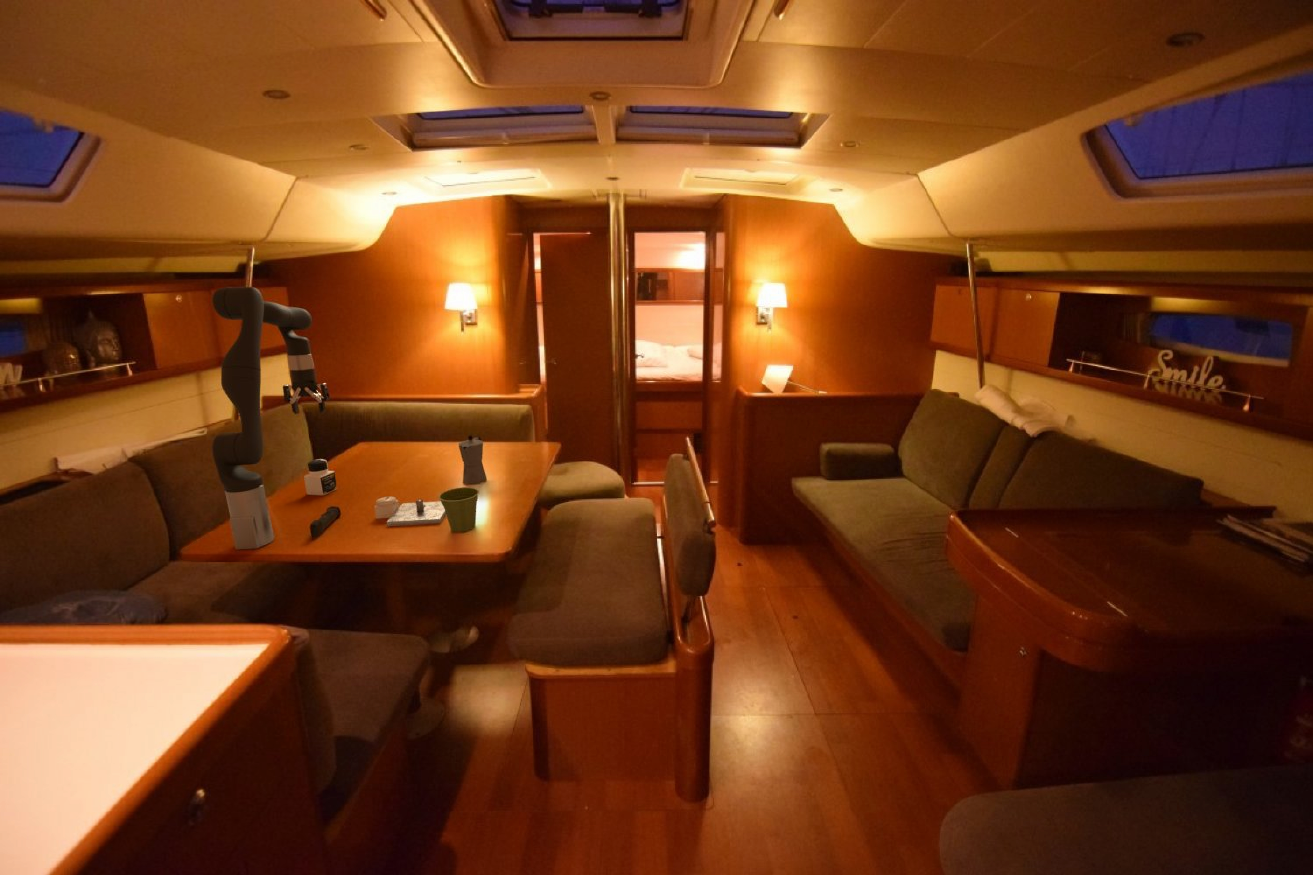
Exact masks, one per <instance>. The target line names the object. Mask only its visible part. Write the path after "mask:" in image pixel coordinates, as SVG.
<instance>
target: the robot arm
mask: <svg viewBox="0 0 1313 875" xmlns="http://www.w3.org/2000/svg"><path fill="white" fill-rule="evenodd" d="M211 302H212V305H213V306H212V307H213V309H214V311H215V312H216V313H217V315H218V316H220V317H221V318H223V319H226V320H232V321H234V320H235V321H240V320H241V327H240V328H241V329H240V332H239V334H238V336H237V338H236V340H235V341H234V343H233V344H232V345H231V346H230V348H229V350H228V351H227V352H226V354H225V355H224V356H223V359H222V362H221V367H220V368H221V369H220V372H221V374H220V376H221V377H220V383H221V387H222V390H223V392H224V394H225V395H226V396H227V398H228V399H229V401H230V402H231V403H232V405H233V406H234V408H235V410H236V411H237V413H238V415H239V418H240V424H241V426H240V427H241V432H224V433H218V434H217V435H216V436H215V437H214V439H212V440H213V441H212V445H211V450H212V451H211V452H212V457H213V461H214V464H215V468H216V471H217V475H218V478H219V481H220V483H221V485H222V486H223V488H224V494H225V498H226V502H227V508H228V511H229V516H230V518H229V524H230V528H231V533H232V537H233V542H234V546H235V550H249V549H250V550H251V549H259V548H261V547H263V546H266V545H268V544H270V543H272V542H273V541H274V540H275V536H274V530H273V526H272V521H271V516H270V512H269V511H270V510H269V506H268V501H267V497H266V490H265V486H264V482H263V481H264V480H263V477H262V475H261V474H259V473H257V472H254V471H251V470H248V469H246V468H245V467H243V466H247V465H248V466H249V465H256V464H258V463H259V462H261V460H262V458H263V454H264V440H263V439H264V437H263V428H262V419H261V418H262V417H261V384H262V383H261V380H262V379H261V378H262V375H261V374H262V373H261V371H262V369H261V344H262V342H261V340H262V331H263V324H264V323H265V324H268V325H272V326H275V327H277V329H278V331H279V332H280V334H281V337H282V338H283V341H284V343H285V346H286V347H285V348H286V352H287V363H288V368H289V374H290V380H291V383H292V384H289V383H286V384H284V385H282V390H283V391H282V392H283V393H282V394H283V399H284V402H285V403H290V405H291V409H292V412H293V413H294V415H298V414H300V408H299V403H298V401H299V399H300V398H304V397H312V398H313V399H315V400H316V401H317V402H318V404H317V405H318V408H319V409H318V410H319V414H324V413H325V411H326V410H327V409H326V403H325V402H327V401H329V400H330V399H331V397H330V393H329V392H330V391H329V388H328V384H327V383H326V382H324V383H317V375H316V374H317V373H316V369H315V363H314V359H313V356H312V351H311V346H310V340H309V338H307V337H305V336H301V335H298V334H296V333H295V332H294V331H305V330H308V329H309V328H310V327H311V326H312V323H313V319H312V315H311V313H309V312H308V311H307V310H306V309H305V308H300V307H293V306H286V305H283V304H280V303H276V302H273V301H268V300H266V301H265V300H264V299H263V295H262V292H260V290H259V289H258V288H256V287H253V286H232V287H231V286H224V287H220V288H218V289H216V290H215V291H214V292H213V295H212V301H211ZM318 389H319V390H320V391H321V393H320V392H319V391H318ZM292 390H293V391H294V393H293V395H291V394H292V393H291V391H292Z"/></svg>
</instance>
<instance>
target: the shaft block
mask: <svg viewBox="0 0 1313 875" xmlns="http://www.w3.org/2000/svg"><path fill="white" fill-rule="evenodd" d="M445 516H446V512H445V509H444V506H443V505H442V502H441V500H440V501H426V502H425V501H424V500H423V499H416V500H415V502H406V503H405V502H404V503H402V504H400V505H399V508H398V509H397V511H396V512H395V513H394V514H393V515H392V516H391V517H390V518H388V519H387V521H386V526H387V527H397V526H417V525H419V526H420V525H433V524H434V525H436V524H441V523H442V521H443V520H444V518H445Z"/></svg>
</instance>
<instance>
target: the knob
mask: <svg viewBox="0 0 1313 875" xmlns="http://www.w3.org/2000/svg"><path fill="white" fill-rule="evenodd" d="M396 498H397V497H394V496H389V495H388V496H383V497H381V498H378V499H376V501H375V503H376V505H375V506H374V513H375V519H390V517H391V516H392V515H393V514H394V513H395V512H396V511H397V509H398V508H399V507H400V503H399V500H398V499H396Z"/></svg>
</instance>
